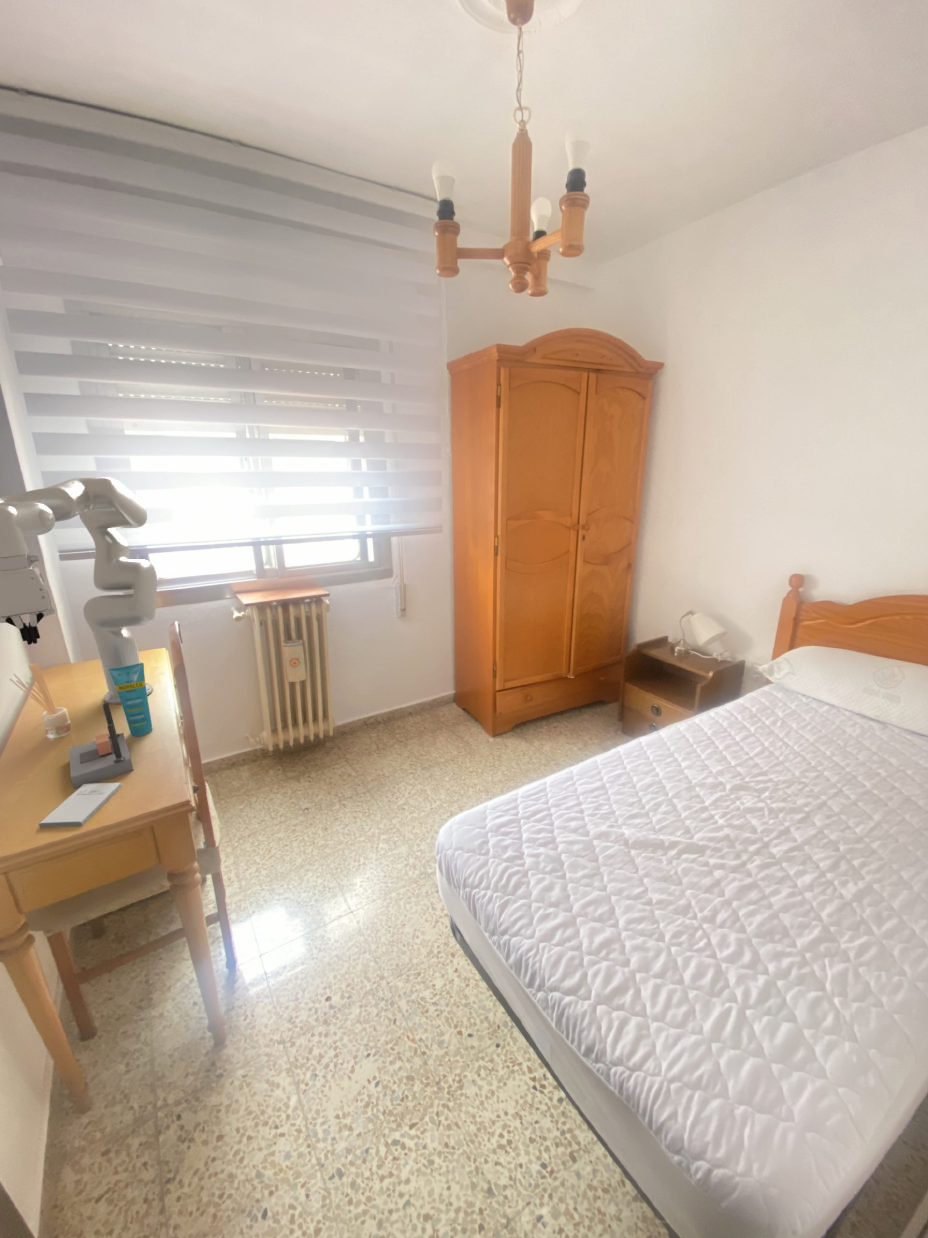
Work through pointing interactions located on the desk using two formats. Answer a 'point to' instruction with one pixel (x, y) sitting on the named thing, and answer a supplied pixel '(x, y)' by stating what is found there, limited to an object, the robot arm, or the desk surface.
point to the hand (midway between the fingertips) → (32, 642)
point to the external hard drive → (81, 805)
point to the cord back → (108, 714)
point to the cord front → (114, 741)
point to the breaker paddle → (103, 744)
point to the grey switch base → (97, 762)
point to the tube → (133, 697)
